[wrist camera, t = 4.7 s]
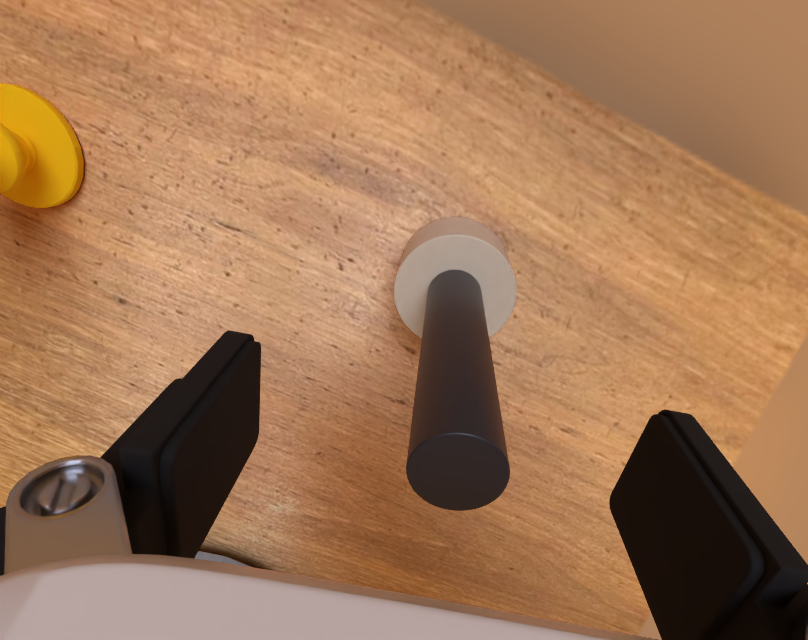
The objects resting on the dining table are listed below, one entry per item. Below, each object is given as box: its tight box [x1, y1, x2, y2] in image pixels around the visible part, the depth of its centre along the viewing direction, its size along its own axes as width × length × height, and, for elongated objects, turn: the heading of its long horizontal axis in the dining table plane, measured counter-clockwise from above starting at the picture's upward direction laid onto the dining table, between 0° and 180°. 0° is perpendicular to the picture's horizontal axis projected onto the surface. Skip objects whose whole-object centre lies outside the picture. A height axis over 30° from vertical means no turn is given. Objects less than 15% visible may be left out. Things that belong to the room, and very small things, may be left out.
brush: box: [394, 217, 517, 511], centre depth 16 cm, size 5×5×13 cm
